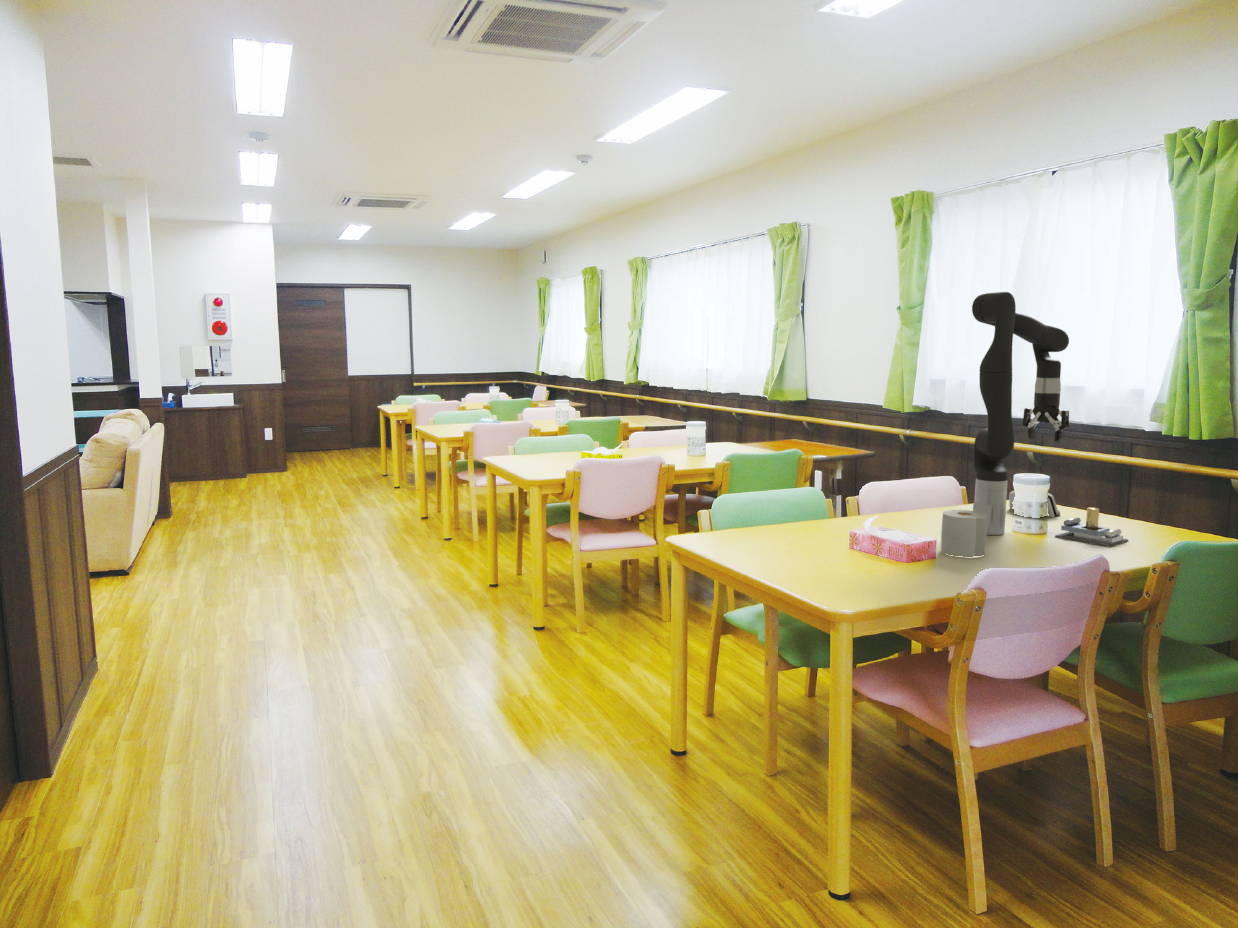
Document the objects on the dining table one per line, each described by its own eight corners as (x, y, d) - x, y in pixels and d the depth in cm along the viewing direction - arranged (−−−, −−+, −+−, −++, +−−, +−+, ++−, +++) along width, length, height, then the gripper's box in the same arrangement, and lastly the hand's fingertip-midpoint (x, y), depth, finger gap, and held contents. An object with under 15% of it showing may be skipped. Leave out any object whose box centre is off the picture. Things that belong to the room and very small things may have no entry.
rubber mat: (1109, 547, 242) (1109, 545, 241) (1054, 536, 254) (1055, 535, 254) (1128, 541, 248) (1128, 539, 248) (1074, 531, 261) (1074, 530, 261)
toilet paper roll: (955, 559, 230) (957, 519, 228) (932, 549, 242) (934, 510, 240) (994, 557, 232) (996, 517, 230) (969, 547, 244) (971, 508, 242)
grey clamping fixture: (1111, 543, 243) (1113, 528, 243) (1060, 534, 255) (1061, 519, 255) (1122, 540, 247) (1124, 524, 247) (1072, 531, 259) (1073, 516, 259)
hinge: (1061, 515, 285) (1057, 490, 282) (1053, 521, 283) (1049, 495, 280) (1017, 507, 299) (1013, 483, 296) (1009, 513, 298) (1005, 488, 294)
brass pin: (1094, 539, 249) (1096, 510, 248) (1083, 537, 252) (1085, 508, 250) (1098, 537, 251) (1101, 508, 250) (1088, 535, 254) (1090, 507, 252)
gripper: (1020, 391, 273) (1017, 439, 276) (1063, 393, 262) (1059, 443, 264) (1032, 390, 277) (1029, 437, 280) (1075, 391, 266) (1072, 441, 268)
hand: (1044, 440), depth 272 cm, fingers open, 8 cm apart
